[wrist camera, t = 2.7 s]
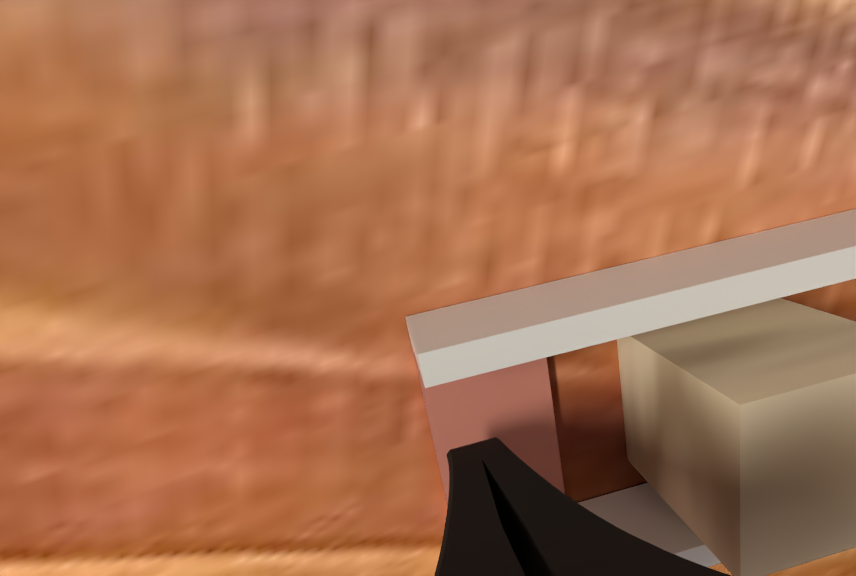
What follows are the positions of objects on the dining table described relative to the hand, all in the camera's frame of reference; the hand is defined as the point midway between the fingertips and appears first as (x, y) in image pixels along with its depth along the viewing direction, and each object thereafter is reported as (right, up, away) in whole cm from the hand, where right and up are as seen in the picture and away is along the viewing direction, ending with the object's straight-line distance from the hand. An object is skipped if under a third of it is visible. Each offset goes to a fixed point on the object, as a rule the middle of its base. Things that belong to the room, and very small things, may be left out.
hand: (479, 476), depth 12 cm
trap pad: (+1, +1, +2) cm, 2 cm away
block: (+7, +2, +2) cm, 7 cm away
